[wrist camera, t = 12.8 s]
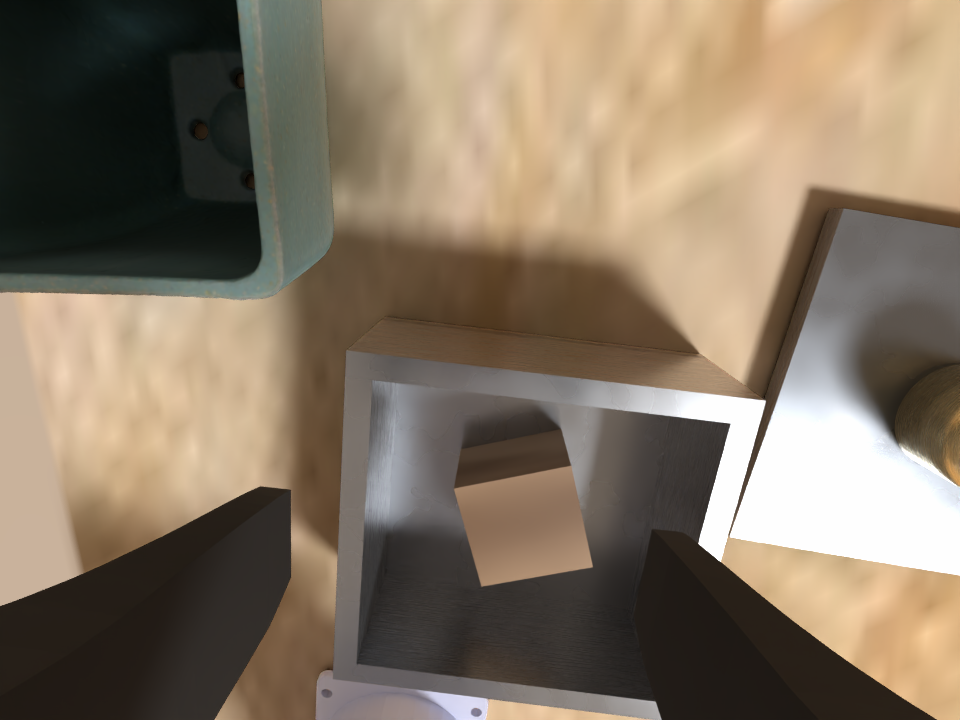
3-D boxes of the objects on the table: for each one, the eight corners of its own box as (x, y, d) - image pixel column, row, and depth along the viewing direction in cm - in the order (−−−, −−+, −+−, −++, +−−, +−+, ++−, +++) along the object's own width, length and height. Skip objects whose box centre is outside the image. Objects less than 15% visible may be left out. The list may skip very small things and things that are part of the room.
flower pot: (373, -17, 17) (231, -267, 8) (382, 261, 19) (282, 302, 10) (106, -17, 17) (-310, -259, 8) (150, 257, 19) (-135, 292, 11)
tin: (637, 614, 23) (673, 722, 18) (368, 580, 23) (332, 679, 18) (700, 354, 19) (766, 400, 15) (384, 316, 19) (346, 350, 15)
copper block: (580, 518, 21) (592, 567, 18) (484, 535, 21) (481, 586, 18) (561, 428, 20) (571, 465, 17) (460, 449, 20) (453, 488, 17)
